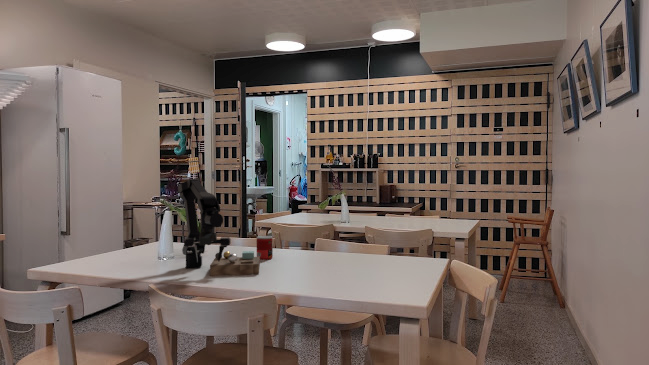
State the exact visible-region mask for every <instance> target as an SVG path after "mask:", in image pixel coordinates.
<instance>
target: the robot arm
mask: <svg viewBox="0 0 649 365" xmlns="http://www.w3.org/2000/svg"><path fill="white" fill-rule="evenodd" d="M177 192H178V194H179V197H180V199H181V200H182V201H183V203H184V209H185V218H186V219H185V220H186V228H187V234H186V235H185V236H186V237H185V238H184V241H183V246H182V249H181V251H182V254H183V255H185V267H184V269H200V268H201V267H202V266H203V255H202V254H204V253H205V250H206V245H207V246H211V245H213V244H215V245H217V244H220V245H219V246H218V247H219V248H218V253H219V257H218V262H220V258H221V255H222V256H223V252H224V250H225V248H228V246H231V242H232V241H231V240H232V239H231V237H227V236H226V237H225V236H223V237H220V238H219V239H218V238H217V237H218V236H217V232H215V228H219V227H221V226H222V225H223V223H224V217H223V216H222V214H221V213H220V212H221V206H220V203H219V201H218V198H217V197H216V195H214V194H213V193H210V192H208V191H207V190H206V189H205V187H204V186H203V184H202V183H201V179H198V178H190V179H187V180H185V181H183V182H181V183H180V184H179V185H178V187H177ZM196 200H197V202H196ZM196 203H197V207H198V209H199V211H200V212H199V215H200V231H199V226H198V225H199V222H198V216H197V215H198V214H197V207H196Z"/></svg>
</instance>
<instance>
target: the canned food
mask: <svg viewBox="0 0 649 365" xmlns="http://www.w3.org/2000/svg"><path fill="white" fill-rule="evenodd" d="M256 257H260V261H267V260H272V259H273V236H272V235H260V236H256Z"/></svg>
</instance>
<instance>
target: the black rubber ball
mask: <svg viewBox="0 0 649 365" xmlns="http://www.w3.org/2000/svg"><path fill="white" fill-rule="evenodd" d="M214 256H215V258H216V259H218V257H219V252H217V253H215V255H214ZM221 258H223V254H222V255H221ZM221 258H220V259H221Z"/></svg>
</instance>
